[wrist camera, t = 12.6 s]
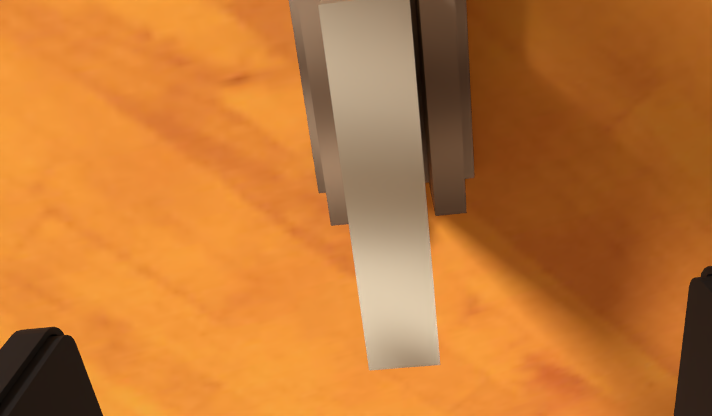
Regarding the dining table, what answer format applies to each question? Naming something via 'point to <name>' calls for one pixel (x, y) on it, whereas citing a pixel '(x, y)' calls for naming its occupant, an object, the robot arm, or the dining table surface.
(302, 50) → the stand
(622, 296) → the dining table surface
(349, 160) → the birch sheet
